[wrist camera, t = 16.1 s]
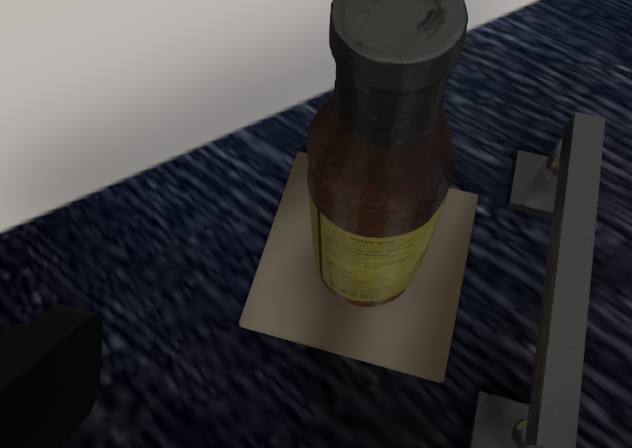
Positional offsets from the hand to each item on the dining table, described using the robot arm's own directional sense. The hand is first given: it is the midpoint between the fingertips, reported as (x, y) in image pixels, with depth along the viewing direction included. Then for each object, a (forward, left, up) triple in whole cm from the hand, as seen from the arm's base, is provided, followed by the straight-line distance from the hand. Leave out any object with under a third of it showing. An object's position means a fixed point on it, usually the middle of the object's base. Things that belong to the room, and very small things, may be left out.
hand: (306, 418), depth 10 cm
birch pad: (0, -12, -23) cm, 25 cm away
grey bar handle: (-10, -12, -23) cm, 27 cm away
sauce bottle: (0, -11, -22) cm, 25 cm away
